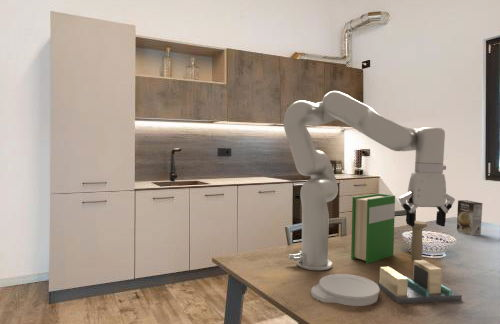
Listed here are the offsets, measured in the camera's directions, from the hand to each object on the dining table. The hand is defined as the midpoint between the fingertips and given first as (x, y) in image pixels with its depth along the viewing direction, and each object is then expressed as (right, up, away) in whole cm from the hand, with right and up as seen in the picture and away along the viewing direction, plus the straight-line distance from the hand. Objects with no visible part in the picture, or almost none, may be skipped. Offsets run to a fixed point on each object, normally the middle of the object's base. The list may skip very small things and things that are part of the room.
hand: (425, 225), depth 106 cm
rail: (-3, -20, -2) cm, 20 cm away
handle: (+10, -19, +27) cm, 35 cm away
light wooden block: (-1, -18, -2) cm, 18 cm away
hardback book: (-5, -18, +32) cm, 37 cm away
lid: (-25, -20, -3) cm, 32 cm away
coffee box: (+59, -17, +73) cm, 95 cm away
